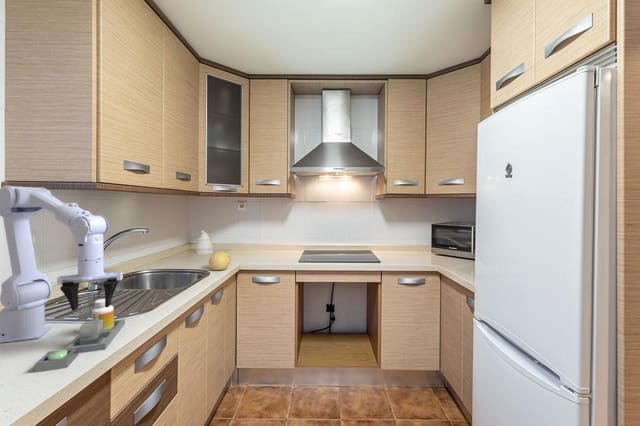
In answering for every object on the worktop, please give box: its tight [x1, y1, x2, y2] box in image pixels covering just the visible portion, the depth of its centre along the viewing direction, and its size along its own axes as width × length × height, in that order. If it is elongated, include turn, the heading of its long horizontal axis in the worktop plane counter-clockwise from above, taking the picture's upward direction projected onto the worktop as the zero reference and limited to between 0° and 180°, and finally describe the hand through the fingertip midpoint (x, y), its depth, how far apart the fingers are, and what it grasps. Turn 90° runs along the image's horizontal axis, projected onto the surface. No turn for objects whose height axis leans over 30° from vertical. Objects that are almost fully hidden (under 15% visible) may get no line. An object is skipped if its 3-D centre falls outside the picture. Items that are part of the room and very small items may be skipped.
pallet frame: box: [64, 318, 126, 354], centre depth 86 cm, size 9×18×2 cm, turn 20°
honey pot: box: [195, 230, 214, 255], centre depth 238 cm, size 13×13×18 cm
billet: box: [79, 320, 104, 346], centre depth 82 cm, size 4×4×6 cm
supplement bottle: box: [91, 298, 115, 331], centre depth 90 cm, size 5×5×10 cm
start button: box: [48, 348, 67, 360], centre depth 72 cm, size 4×4×2 cm
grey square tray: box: [34, 348, 79, 373], centre depth 72 cm, size 6×6×2 cm
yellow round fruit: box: [208, 251, 232, 271], centre depth 177 cm, size 12×12×11 cm
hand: (91, 307), depth 82 cm, fingers open, 7 cm apart
